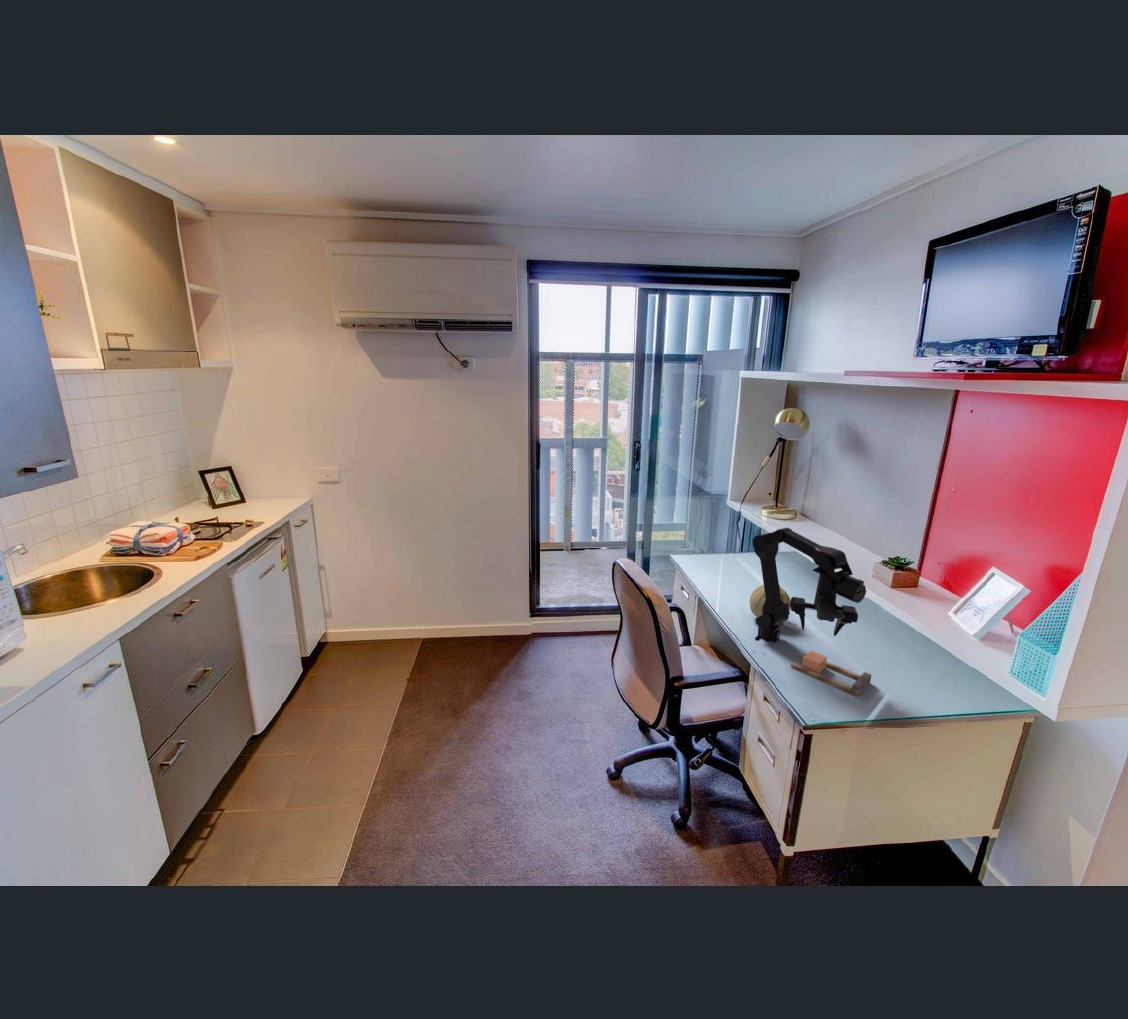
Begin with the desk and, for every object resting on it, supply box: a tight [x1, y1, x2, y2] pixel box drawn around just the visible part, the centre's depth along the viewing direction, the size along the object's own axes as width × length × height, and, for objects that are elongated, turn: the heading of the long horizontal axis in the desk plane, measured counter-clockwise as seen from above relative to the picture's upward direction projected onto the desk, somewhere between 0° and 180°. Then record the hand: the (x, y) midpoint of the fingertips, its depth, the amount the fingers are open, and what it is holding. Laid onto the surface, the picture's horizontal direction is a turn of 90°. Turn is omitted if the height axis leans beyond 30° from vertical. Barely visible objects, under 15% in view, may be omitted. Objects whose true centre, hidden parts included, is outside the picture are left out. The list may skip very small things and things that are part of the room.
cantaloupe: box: [749, 584, 791, 618], centre depth 190 cm, size 15×15×15 cm
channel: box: [790, 652, 872, 697], centre depth 156 cm, size 20×10×4 cm, turn 41°
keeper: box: [801, 650, 828, 674], centre depth 159 cm, size 5×6×4 cm
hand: (818, 632), depth 159 cm, fingers open, 9 cm apart
